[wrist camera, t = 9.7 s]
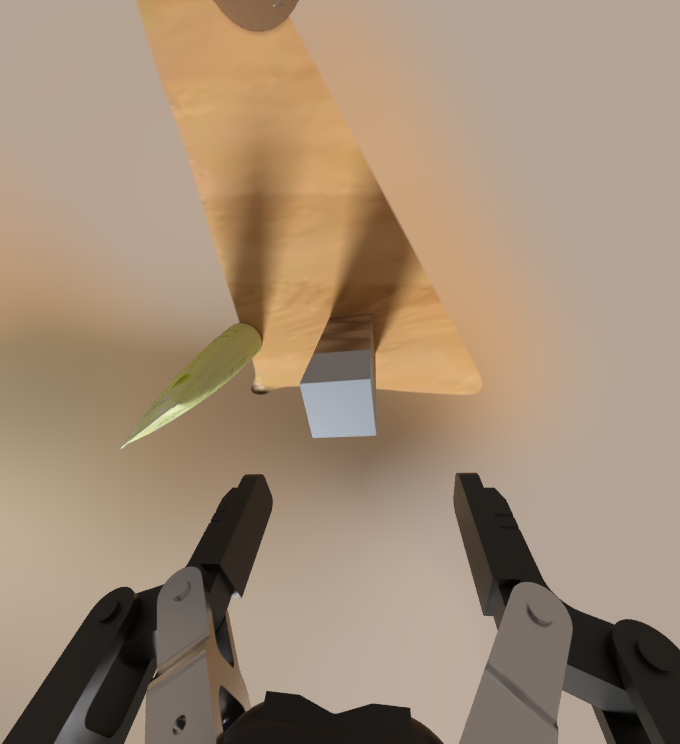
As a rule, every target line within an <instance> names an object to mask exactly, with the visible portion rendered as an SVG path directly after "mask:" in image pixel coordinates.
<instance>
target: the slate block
mask: <svg viewBox="0 0 680 744" xmlns="http://www.w3.org/2000/svg"><path fill="white" fill-rule="evenodd" d="M300 388H301V391H302V396H303V400H304V404H305V408H306V412H307V416H308V421H309V425H310V429H311V433H312V437H313V438H322V437H349V436H375V435H376V396H375V386H374V375H373V365H372V355H371V349H367V350H355V351H344V352H332V353H321V354H313V355H312V358H311V360H310V362H309V364H308V366H307V369H306V371H305V373H304V375H303V377H302V380H301V382H300Z"/></svg>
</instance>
